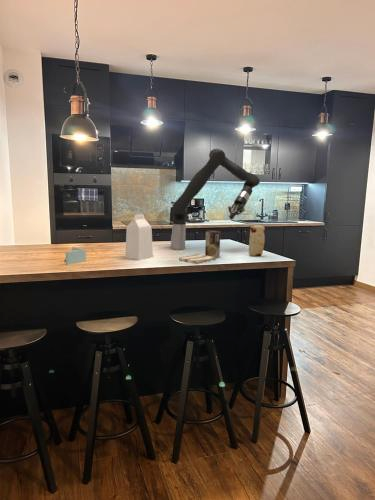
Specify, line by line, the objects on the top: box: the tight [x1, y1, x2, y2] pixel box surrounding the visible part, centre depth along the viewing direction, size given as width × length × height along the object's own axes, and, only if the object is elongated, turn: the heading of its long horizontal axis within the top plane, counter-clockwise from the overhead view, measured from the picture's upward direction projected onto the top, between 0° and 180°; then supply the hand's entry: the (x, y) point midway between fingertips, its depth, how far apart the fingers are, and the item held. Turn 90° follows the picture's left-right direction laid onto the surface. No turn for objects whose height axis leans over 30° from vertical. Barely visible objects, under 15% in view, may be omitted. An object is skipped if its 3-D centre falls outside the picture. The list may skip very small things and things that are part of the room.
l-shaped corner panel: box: [64, 246, 87, 266], centre depth 199 cm, size 12×12×8 cm
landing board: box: [178, 253, 217, 265], centre depth 213 cm, size 14×17×2 cm
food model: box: [248, 224, 266, 257], centre depth 228 cm, size 10×7×20 cm
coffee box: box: [204, 230, 221, 259], centre depth 222 cm, size 9×6×16 cm
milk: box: [124, 213, 154, 261], centre depth 213 cm, size 12×12×26 cm
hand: (230, 218), depth 232 cm, fingers closed
